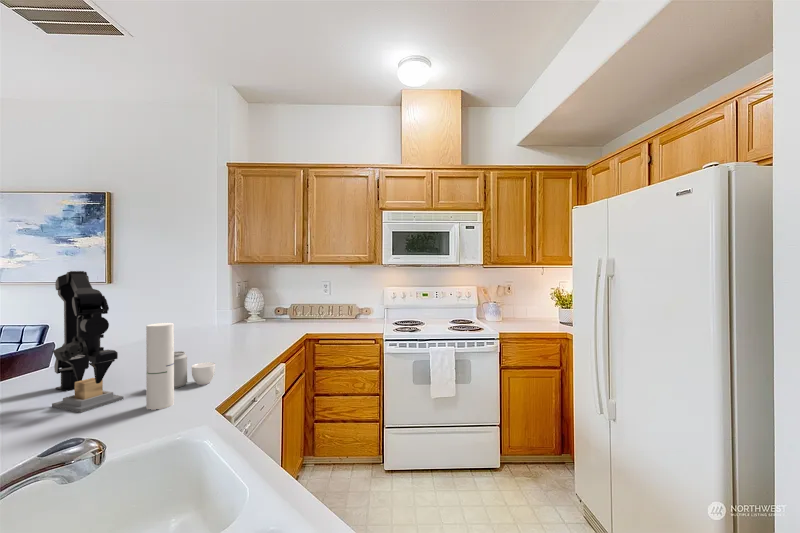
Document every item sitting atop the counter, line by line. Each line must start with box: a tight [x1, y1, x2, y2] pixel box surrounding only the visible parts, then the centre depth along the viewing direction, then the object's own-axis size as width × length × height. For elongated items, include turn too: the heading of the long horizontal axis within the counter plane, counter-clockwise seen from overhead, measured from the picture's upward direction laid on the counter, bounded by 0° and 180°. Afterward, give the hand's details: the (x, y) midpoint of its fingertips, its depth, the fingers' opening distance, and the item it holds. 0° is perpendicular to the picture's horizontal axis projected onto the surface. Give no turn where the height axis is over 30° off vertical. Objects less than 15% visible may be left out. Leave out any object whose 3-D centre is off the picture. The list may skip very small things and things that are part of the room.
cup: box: [191, 361, 216, 386], centre depth 138 cm, size 8×10×7 cm
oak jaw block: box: [74, 377, 104, 400], centre depth 118 cm, size 5×5×6 cm
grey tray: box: [51, 390, 124, 414], centre depth 118 cm, size 14×12×2 cm
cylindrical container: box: [145, 322, 175, 411], centre depth 115 cm, size 7×7×25 cm
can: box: [174, 350, 188, 389], centre depth 135 cm, size 8×8×12 cm
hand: (88, 381), depth 118 cm, fingers open, 9 cm apart
